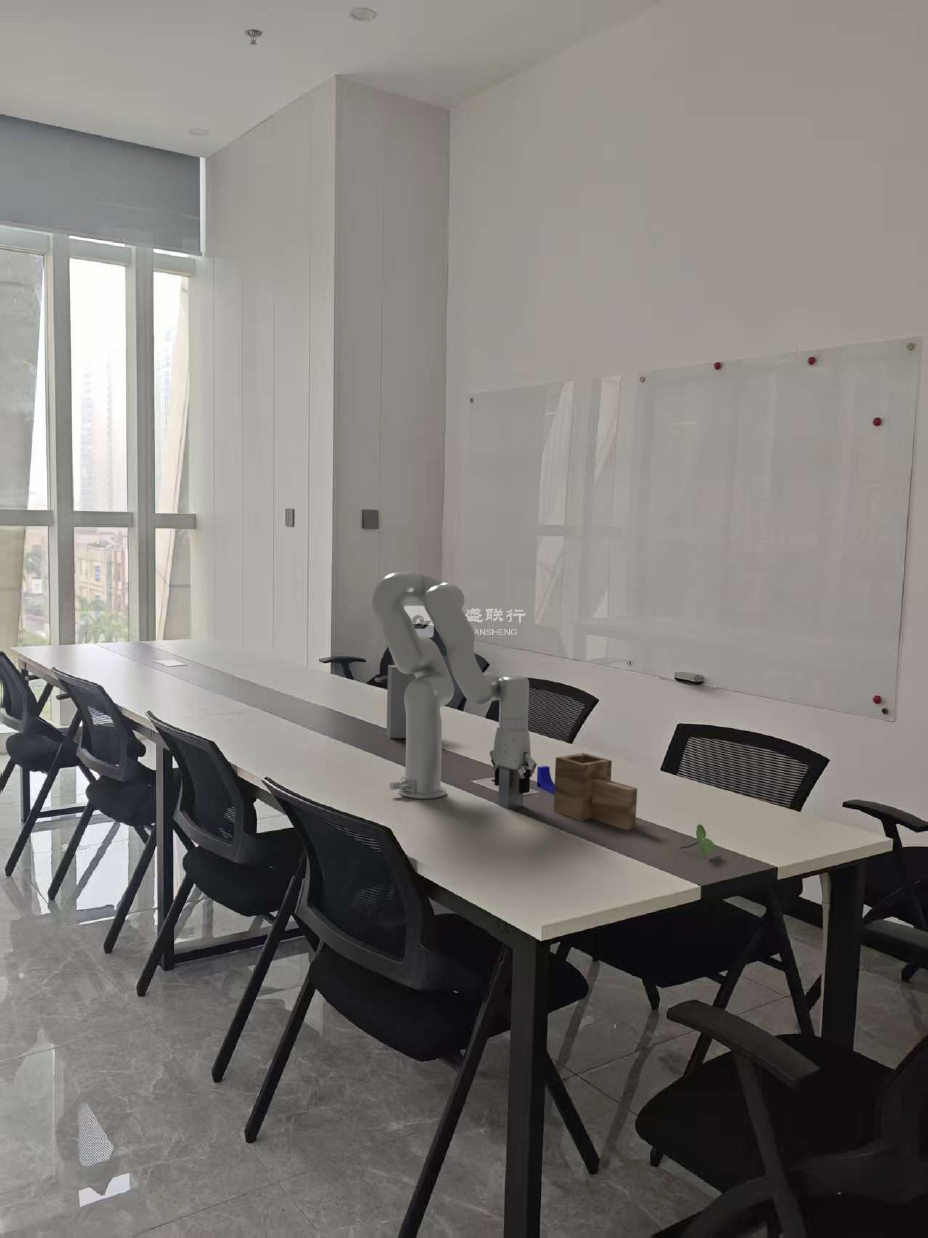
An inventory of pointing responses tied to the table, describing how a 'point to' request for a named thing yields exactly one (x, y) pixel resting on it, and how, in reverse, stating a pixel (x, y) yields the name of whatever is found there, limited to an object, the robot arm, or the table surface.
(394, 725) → the tall grey block
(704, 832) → the seedling
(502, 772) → the upright grey metal pillar
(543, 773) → the blue cradle block
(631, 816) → the brown stepped hollow block
